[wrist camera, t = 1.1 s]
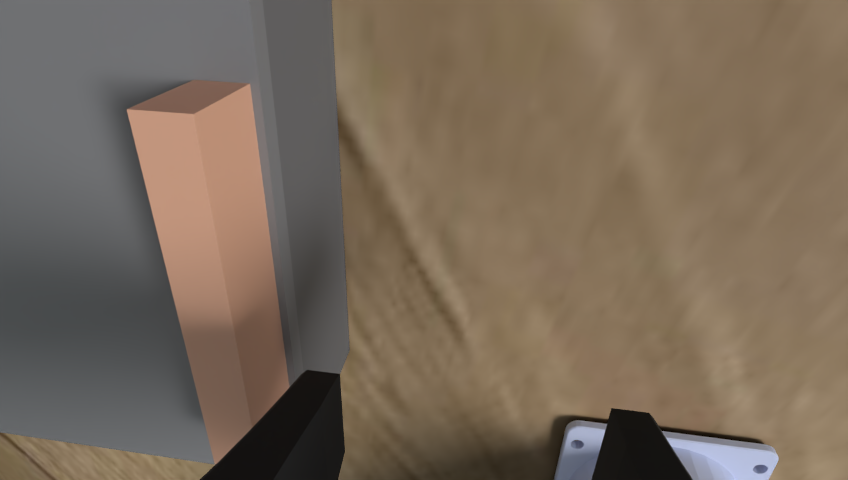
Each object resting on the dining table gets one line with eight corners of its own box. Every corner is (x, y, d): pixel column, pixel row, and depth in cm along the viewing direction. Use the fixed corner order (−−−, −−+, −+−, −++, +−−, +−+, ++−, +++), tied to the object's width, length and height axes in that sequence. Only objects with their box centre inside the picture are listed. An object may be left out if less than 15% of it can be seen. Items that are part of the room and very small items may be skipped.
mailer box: (349, 350, 22) (309, 451, 17) (78, 317, 23) (-22, 404, 19) (329, -38, 15) (254, -30, 10) (-57, -54, 16) (-265, -51, 12)
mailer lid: (313, 461, 17) (281, 546, 15) (-30, 411, 19) (-111, 482, 16) (258, -41, 10) (178, -35, 8) (-290, -62, 12) (-503, -62, 9)
